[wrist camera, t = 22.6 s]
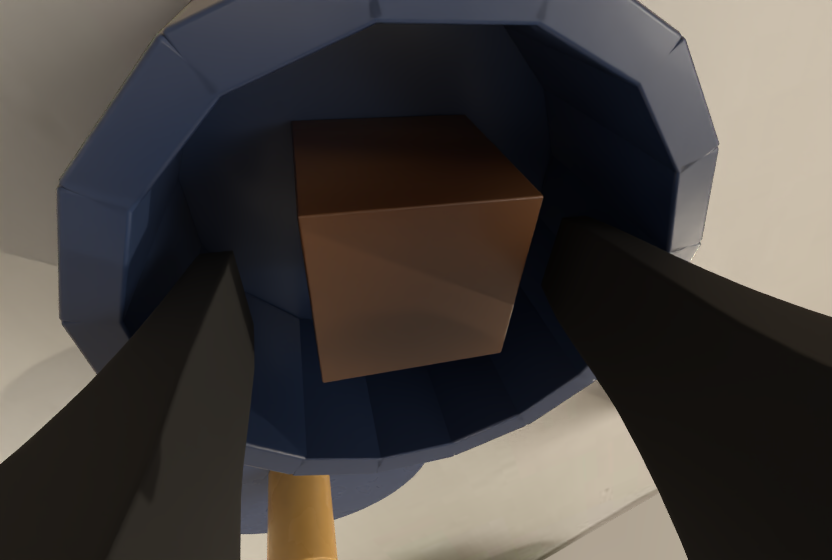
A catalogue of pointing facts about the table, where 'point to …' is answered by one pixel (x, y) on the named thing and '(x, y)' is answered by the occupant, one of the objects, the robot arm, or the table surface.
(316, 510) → the lid
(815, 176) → the table surface
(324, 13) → the tin
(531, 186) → the block
